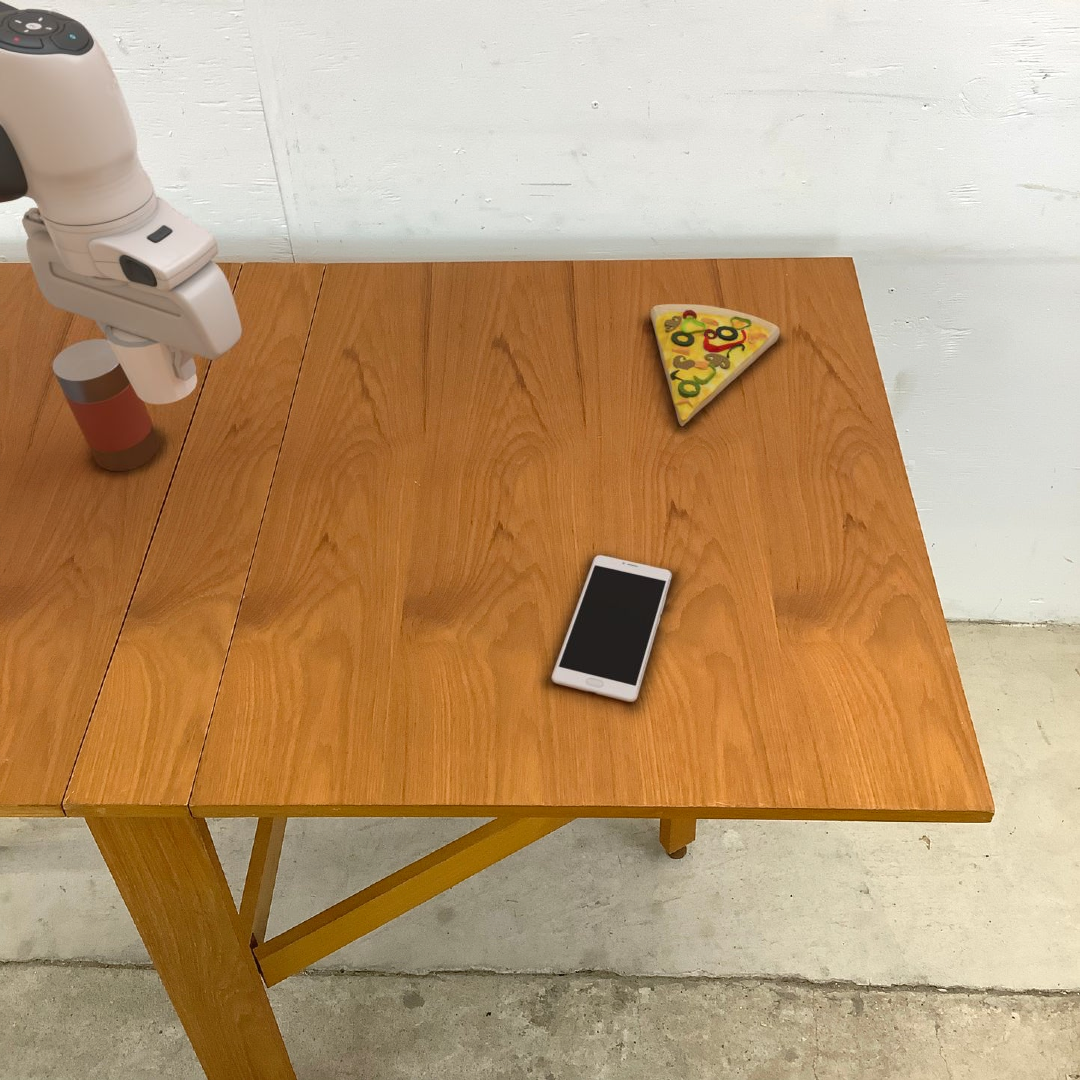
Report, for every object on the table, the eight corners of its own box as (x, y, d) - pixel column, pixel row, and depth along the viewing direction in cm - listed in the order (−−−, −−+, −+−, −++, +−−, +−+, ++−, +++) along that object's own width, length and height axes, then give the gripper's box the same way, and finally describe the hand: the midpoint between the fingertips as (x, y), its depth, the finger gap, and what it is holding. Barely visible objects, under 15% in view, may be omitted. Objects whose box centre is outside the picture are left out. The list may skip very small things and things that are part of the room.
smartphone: (549, 679, 83) (595, 552, 93) (549, 684, 84) (595, 557, 93) (636, 701, 82) (673, 570, 91) (635, 705, 82) (672, 574, 92)
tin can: (81, 460, 103) (36, 369, 95) (125, 422, 107) (86, 331, 99) (129, 479, 101) (88, 388, 92) (173, 440, 105) (138, 349, 96)
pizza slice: (780, 331, 117) (784, 310, 115) (751, 442, 104) (755, 421, 102) (654, 309, 121) (655, 288, 118) (610, 414, 107) (611, 393, 105)
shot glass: (186, 412, 90) (164, 349, 85) (116, 405, 90) (89, 342, 85) (215, 366, 94) (195, 304, 89) (147, 359, 95) (124, 298, 90)
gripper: (-13, 220, 82) (50, 355, 92) (179, 279, 75) (224, 417, 86) (44, 186, 85) (98, 319, 96) (231, 240, 79) (268, 376, 89)
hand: (159, 366), depth 91 cm, fingers closed on shot glass, 5 cm apart
